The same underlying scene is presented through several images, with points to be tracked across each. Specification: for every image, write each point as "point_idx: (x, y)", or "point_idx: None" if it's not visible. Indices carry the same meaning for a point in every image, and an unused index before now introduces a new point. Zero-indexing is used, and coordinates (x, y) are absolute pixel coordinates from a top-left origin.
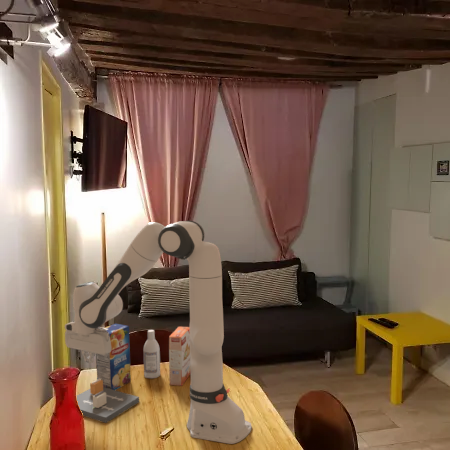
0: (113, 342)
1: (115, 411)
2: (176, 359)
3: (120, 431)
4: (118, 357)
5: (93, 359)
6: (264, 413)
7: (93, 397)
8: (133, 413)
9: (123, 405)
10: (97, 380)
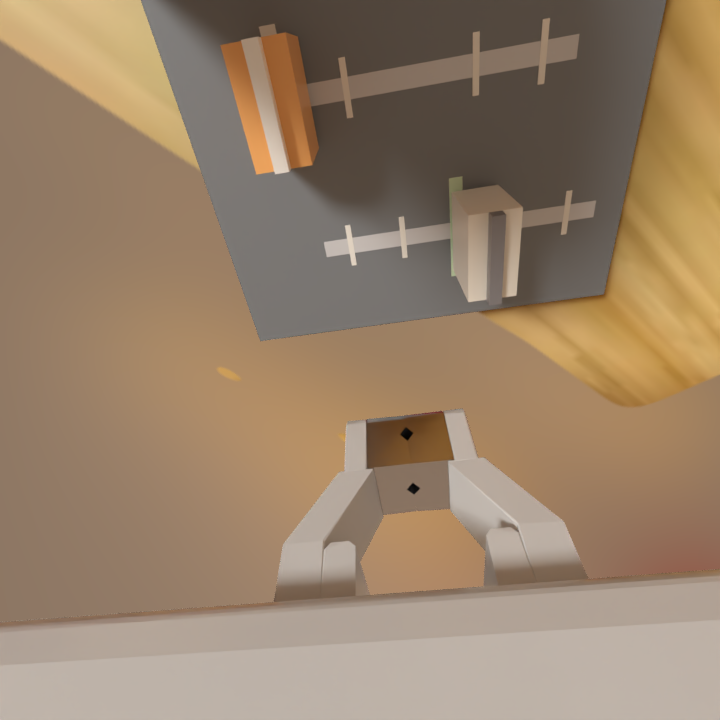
0: None
1: (619, 213)
2: None
3: (712, 286)
4: None
5: (469, 429)
6: None
7: (473, 296)
8: (701, 91)
9: (630, 115)
10: (272, 101)
